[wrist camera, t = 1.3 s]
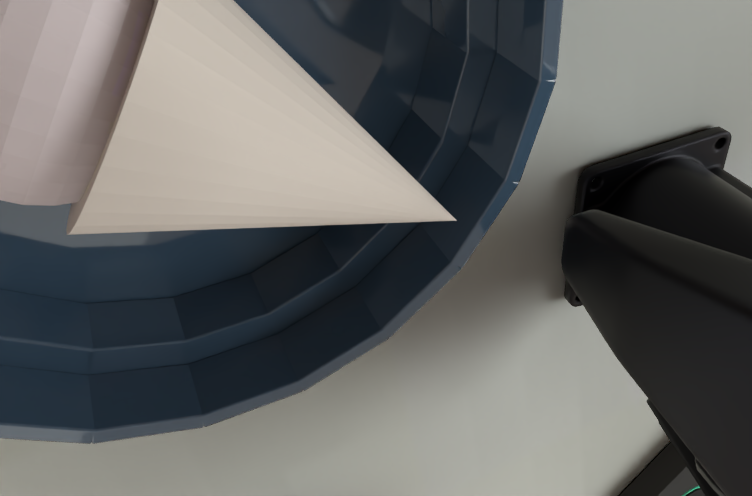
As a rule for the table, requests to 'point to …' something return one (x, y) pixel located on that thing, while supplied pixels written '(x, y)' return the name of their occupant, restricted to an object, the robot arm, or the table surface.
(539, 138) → the table surface
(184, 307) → the bowl
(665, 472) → the smart home device
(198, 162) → the ice cream cone
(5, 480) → the table surface
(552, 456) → the table surface
